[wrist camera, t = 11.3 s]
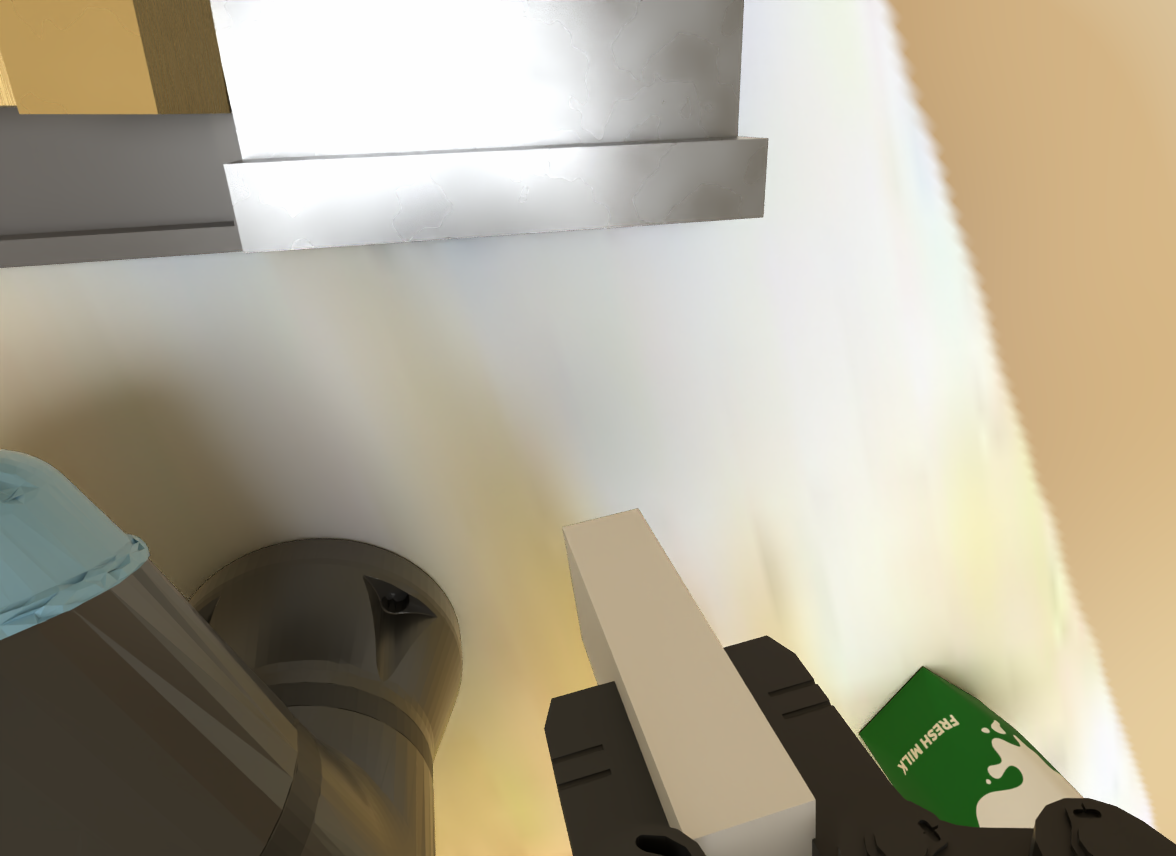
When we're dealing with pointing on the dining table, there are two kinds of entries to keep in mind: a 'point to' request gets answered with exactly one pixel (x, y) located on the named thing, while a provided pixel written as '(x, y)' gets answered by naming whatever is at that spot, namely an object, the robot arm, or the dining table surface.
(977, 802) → the milk carton
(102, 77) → the brass block
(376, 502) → the dining table surface
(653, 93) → the slot plate
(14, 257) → the tray
